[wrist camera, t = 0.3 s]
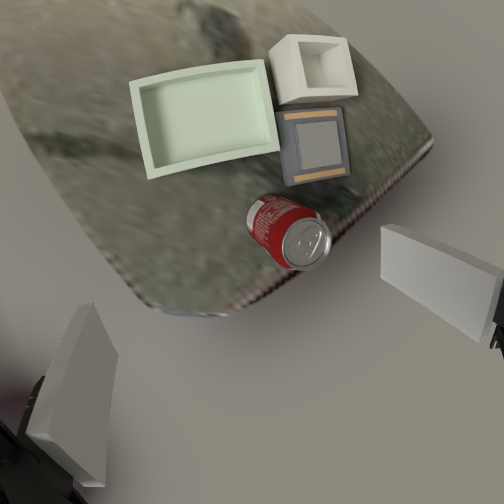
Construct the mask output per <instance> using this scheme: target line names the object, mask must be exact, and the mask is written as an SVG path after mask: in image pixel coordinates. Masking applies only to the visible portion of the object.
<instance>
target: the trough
mask: <svg viewBox="0 0 504 504" xmlns="http://www.w3.org/2000/svg"><path fill="white" fill-rule="evenodd" d="M129 85H130V91H131V97H132V103H133V109H134V115H135V120H136V126H137V131H138V136H139V141H140V146H141V150H142V155H143V160H144V164H145V169H146V173H147V177H148V180H149V179H152V178H156V177H160V176H163V175H167V174H171V173H175V172H179V171H183V170H187V169H191V168H195V167H199V166H204V165H208V164H213V163H217V162H222V161H226V160H231V159H236V158H241V157H246V156H252V155H257V154H263V153H268V152H274V151H280V146H279V140H278V134H277V128H276V123H275V117H274V111H273V106H272V101H271V95H270V90H269V85H268V80H267V75H266V70H265V65H264V60H263V59H258V60H246V61H235V62H227V63H219V64H211V65H205V66H198V67H192V68H187V69H182V70H177V71H172V72H167V73H162V74H158V75H154V76H150V77H146V78H142V79H138V80H134V81H131V82H129Z"/></svg>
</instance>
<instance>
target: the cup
mask: <svg viewBox="0 0 504 504" xmlns="http://www.w3.org/2000/svg"><path fill="white" fill-rule="evenodd" d="M268 55H269V60H270V65H271V70H272V75H273V80H274V85H275V90H276V95H277V100H278V105H287V104H299V103H314V102H331V101H335V100H339V99H344V98H348V97H353V96H358V90H357V85H356V80H355V75H354V70H353V65H352V61H351V57H350V52H349V48H348V44H347V40H346V38H341V37H331V36H319V35H298V34H288V35H286V36H285V37H284V38H283V39H282V40H281V41H279V42H278V43H277V44H276V45H275V46H274V47H273V48H271V49H270V50H269V51H268Z"/></svg>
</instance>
